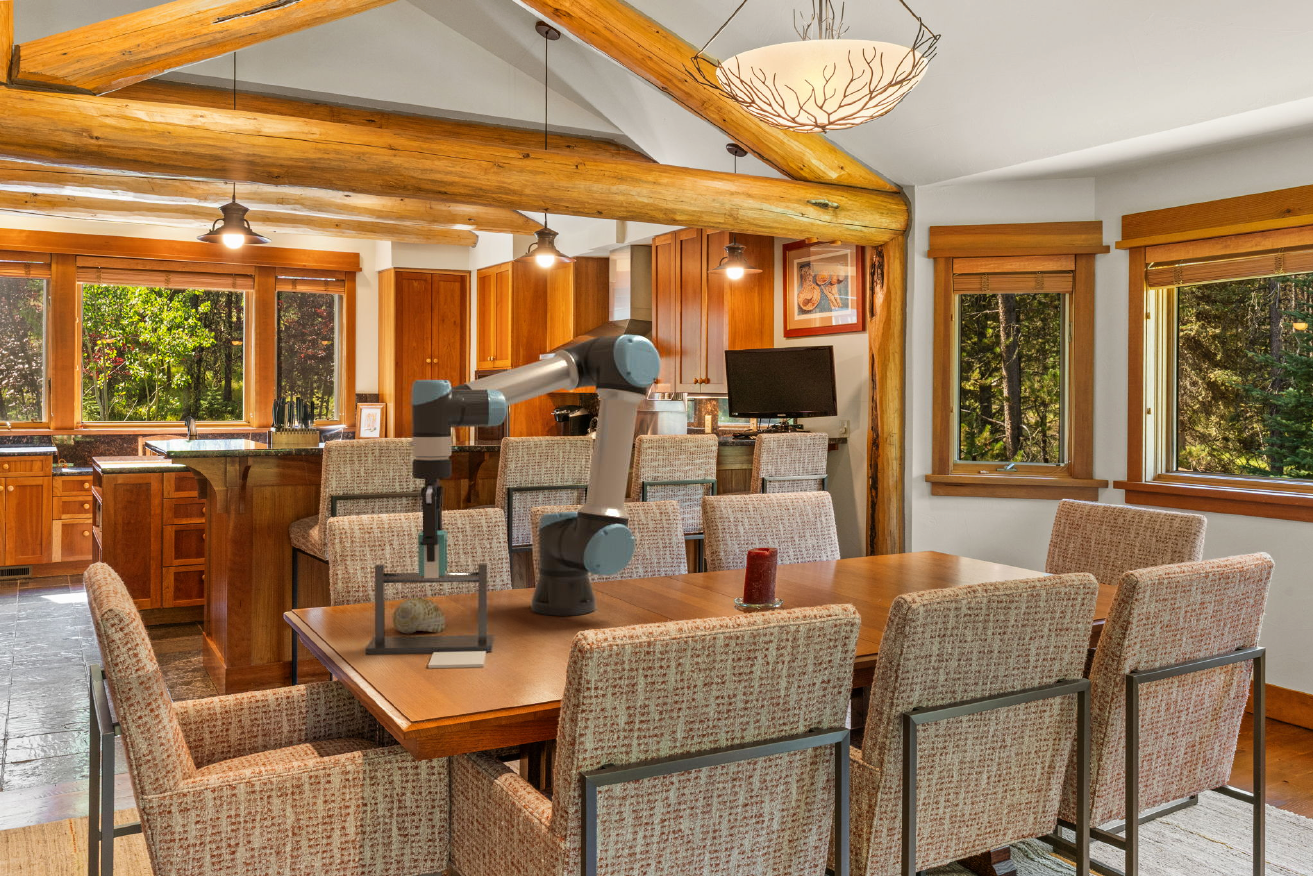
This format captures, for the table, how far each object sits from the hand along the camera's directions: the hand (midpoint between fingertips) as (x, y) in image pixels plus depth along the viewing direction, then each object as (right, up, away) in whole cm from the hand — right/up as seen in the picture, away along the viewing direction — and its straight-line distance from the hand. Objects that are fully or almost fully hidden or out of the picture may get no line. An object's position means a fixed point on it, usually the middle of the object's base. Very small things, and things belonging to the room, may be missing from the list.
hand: (433, 574), depth 193 cm
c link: (0, 0, 0) cm, 0 cm away
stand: (0, -15, 0) cm, 15 cm away
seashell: (-6, -14, +14) cm, 21 cm away
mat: (+7, -15, -9) cm, 19 cm away
